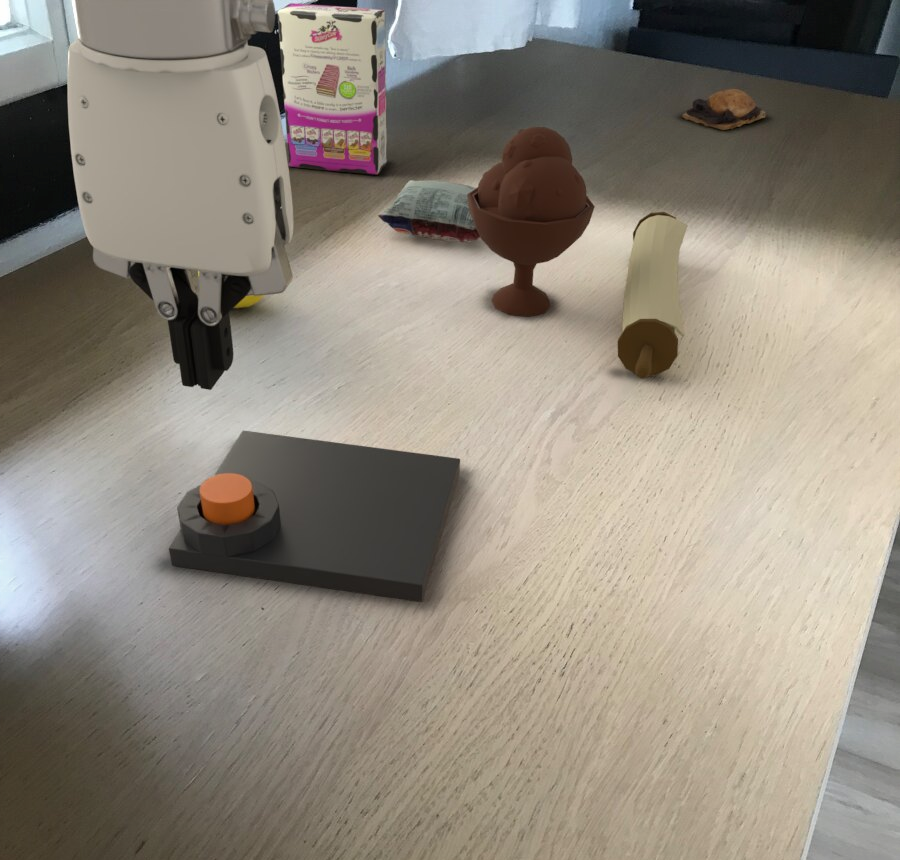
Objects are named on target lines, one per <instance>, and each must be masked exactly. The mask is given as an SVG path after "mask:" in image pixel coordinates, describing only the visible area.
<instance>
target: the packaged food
mask: <svg viewBox="0 0 900 860" xmlns="http://www.w3.org/2000/svg"><path fill="white" fill-rule="evenodd" d="M476 188H477V187H475V186H471V185H468V184H461V183H456V182H449V181H444V180H443V181H442V180H438V179H429V180H412V179H410V180H409V181H408V182H407V183H404V187H403V188H402V189H401V191H400V192H399V193H398V195H397V197H396V199H395V200H394V201H393V203H391V204H390V205H389V206H387V207H386V208H385V209H383V210H382V211H381V212H380V213H378V215H377V217H378V218H380V220H381V221H382V222H384V223H386V224H387V225H388V226H389V227H390V228H391V229H393V230H394V231H395V232H396V233H399V234H404V235H410V236H417V237H422V238H429V239H433V240H439V241H446V242H455V243H470V242H475V241H477V240H478V239H481V238H480V236H479V233H478V231H477V229H476V227H475V225H474V222H473V219H472V217H471V214H470V211H469V204H468V197H467V194H469V193H470V192H472V191H473V190H474V189H476Z"/></svg>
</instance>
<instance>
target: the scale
mask: <svg viewBox="0 0 900 860" xmlns="http://www.w3.org/2000/svg"><path fill="white" fill-rule="evenodd" d="M460 470H461V458H458V457H449V456H443V455H435V454H427V453H419V452H411V451H404V450H397V449H390V448H381V447H373V446H365V445H359V444H352V443H351V444H350V443H343V442H335V441H329V440H319V439H311V438H304V437H296V436H288V435H282V434H281V435H280V434H274V433H266V432H259V431H250V430H242V431H241V432H240V434H239V435H238V437H237V439H236V440H235V442H234V443H233V445H232V447H231V449H230V450H229V451H228V453H227V454H226V456H225V458H224V459H223V461H222V463H221V464H220V466H219V467H218V468H217V471H216V472H215V474H214V475H213V476H215V475H218V474H224V473H233V474H239V475H242V476H244V477H246V478H247V479H249V480H250V482H251V484H252V488H253V497H254V505H255V510H254V513H253V515H252V516H251V517H250V518H248V519H247V520H245V521H243V522H239V523H234V524H228V525H223V524H216V523H211V522H209V521H208V520H207V519H206V518H205V517H204V515H203V510H202V504H201V497H200V486H201V484H199V485H198V486H195V487H194V488H192V489H190V490H188V491H187V492H186V493H185V494H184V496H183V497H182V499H181V500H180V502H179V503H178V505H177V507H176V509H177V514H178V515H177V516H178V520H179V526H180V529H179V531H178V533H177V534H176V536H175V538H174V539H173V541H172V542H171V544H170V546H169V548H168V552H169V557H170V562H171V566H174V567H180V568H188V569H195V570H201V571H209V572H214V573H221V574H229V575H236V576H242V577H249V578H255V579H261V580H262V579H263V580H269V581H277V582H282V583H283V582H285V583H288V584H289V583H290V584H297V585H303V586H309V587H310V586H311V587H317V588H325V589H332V590H337V591H338V590H339V591H344V592H353V593H359V594H366V595H371V596H372V595H373V596H380V597H386V598H393V599H400V600H406V601H413V602H423V599H424V596H425V593H426V589H427V586H428V582H429V579H430V576H431V572H432V569H433V566H434V563H435V559H436V555H437V552H438V549H439V545H440V542H441V538H442V535H443V532H444V528H445V525H446V521H447V518H448V514H449V511H450V508H451V504H452V501H453V498H454V495H455V492H456V491H455V490H456V488H457V484H458V481H459V478H460V473H461V471H460Z"/></svg>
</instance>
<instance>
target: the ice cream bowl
mask: <svg viewBox="0 0 900 860" xmlns="http://www.w3.org/2000/svg"><path fill="white" fill-rule="evenodd" d="M571 150H572V149H571V147H570V145H569V143H568V142H567V141H566V139H565V137H563V136H562V135H561V134H560V133H559V132H558V131H556V130H554V129H551V128H549V127H547V126H531V127H527V128H522V129H519V130H518V131H517V133H516V134H514V135H512V137H511V138H510V140H509V141H507V143H506V144H505V146H504V148H503V149H502V153H501V159H500V162H498V163H497V164H495V165H493V166H492V167H490V169H488V170H487V171H485V172H484V173H483V174H482V176H481V179H480V180H479V182H478V183H477V187H475V188H476V189H474V190H473V191H472V192H470V193H469V194H467V197H468V204H469V211H470V214H471V217H472V219H473V222H474V225H475V227H476V229H477V231H478V233H479V236H480V238H479V239H481V241H483V243H484V244H485V245H486V246H487V248H488V249H489V250H490V251H492V252H493V253H494V254H496V255H497V256H499V257H500V258H502V259H505V260H507V261H509V262H511V263H513V266H514V272H513V273H514V274H513V283H511V284H508V285H506V286H503V287H500V288H499V289H498V290H497V291H496V292H494V293H493V296H492V298H491V302H492V305H493V307H494V309H496V310H498V311H500V312H502V313H505V314H506V315H509V316H518V317H519V316H520V317H532V316H537V315H543V314H545V313H546V312H547V311H548V310H549V309H550V308H551V307H552V304H551V299H550V298H549V297H548V294H547V293H546V292H545V291H543V290H542V289H540V288H539V287H537V286H535V285H534V284H533V283H534V271H535V268H536V266H537V264H543V263H547V262H550V261H552V260H554V259H557V258H558V257H559V256H560V255H562V254H563V253H564V252H566V251H567V250H568V249H569V248H570V247H571V246H572V245H573V244H575V243H576V242H577V241H578V240H579V239H580V238H581V237H582V236H583V234H584V232H585V231H586V230H587V228H588V226H589V224H590V223H591V219H592V216H593V213H594V210H595V207H596V206H595V205H594V203H593V202H592V201H591V199H590V198H589V197H588V195H587V186H586V185H587V184H586V182H585V180H584V178H583V177H582V175H581V174H580V172H579V171H578V170H577V168H576V167H575V166H574V165H573V156H572V151H571Z"/></svg>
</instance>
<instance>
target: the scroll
mask: <svg viewBox="0 0 900 860" xmlns="http://www.w3.org/2000/svg"><path fill="white" fill-rule="evenodd" d="M688 226H689V224H687V223H685V222H683V221H681V220H680V219H678V218H677V217H676V216H675V215H672V214H670V213H668V212H665V211H659V212H658V211H657V212H656V211H655V212H650V213H648V214H647V215H645V216H643V217H642V218H641V219H640V220H638V223H637V224H636V226H635V229H634V230H633V232H632V247H631V251H630V256H629V262H628V268H627V275H626V279H625V287H624V299H623V308H622V321H621V322H622V323H621V328H622V329H621V334H620V336H619V337H618V338H617V358H618V359H619V361H620V362H621V364H622V365H623V366H624V368H625V369H626V370H627V371H629V372H632V373H633V374H634V375H636V376H637V378H639V379H645V378H648V377H656V376H658V375H660V374H661V373H664V372H665V371H668V370H670V368H671V367H672V366H673V364H674V363H675V360H676V359H677V358H678V354H679V338H678V336H677V333H678V334H679V335H680V336H681V337H682V338H684V337H685V330H684V329H685V328H684V323H683V317H682V311H681V305H680V294H679V293H680V292H679V283H678V282H679V281H678V271H679V270H678V268H679V259H680V251H681V248H682V244H683V241H684V238H685V235H686V233H687V229H688Z"/></svg>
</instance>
